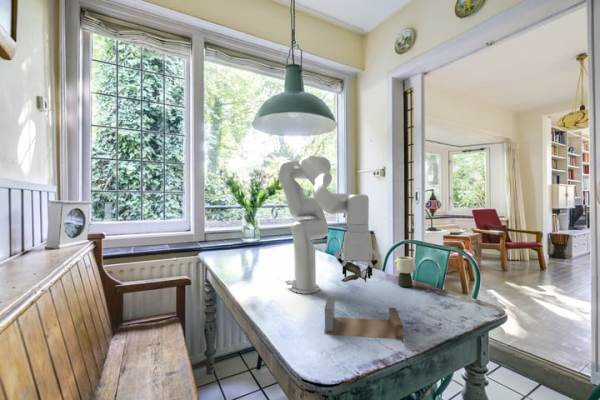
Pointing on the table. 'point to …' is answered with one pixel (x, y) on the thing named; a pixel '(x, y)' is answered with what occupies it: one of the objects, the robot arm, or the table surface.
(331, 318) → the bookend
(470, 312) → the table surface
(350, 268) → the eagle figurine
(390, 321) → the wooden book rack
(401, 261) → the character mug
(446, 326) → the table surface
